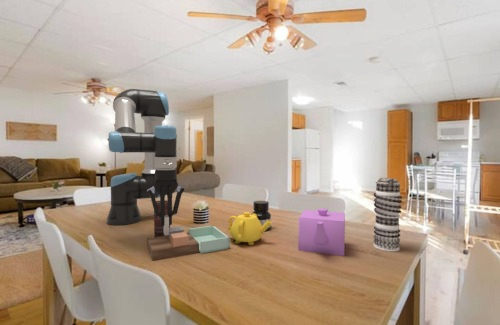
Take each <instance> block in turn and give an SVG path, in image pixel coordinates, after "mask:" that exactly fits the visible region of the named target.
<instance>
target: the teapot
mask: <svg viewBox="0 0 500 325" xmlns="http://www.w3.org/2000/svg"><path fill="white" fill-rule="evenodd" d="M252 213H253V212H252ZM252 213H251V212H249V211H244V212H243V214H239V215H237V216H236V215H232V216H230V217H229V218H228V225H229V226H228V227H227V230H226V231H228V233H229V234H230V236H231V238H232V239H233V240H235V241H234V244H241V243H247V244H248V245H249V246H254V245H255V244H254V243H255V242H256V241H260V238H262V236H263V235H264V233H265V231H267V230H266V229H267V228H268V227H269V226H270V225H271V226H272V224H273V222H272V220H271V221H270V220H267V221H266V223H265V224H264V225H263V226H262V225H261V223H260V221H259V220H258V218H257V214H254V213H253V214H252ZM251 214H252V215H251ZM232 219H234V220H233V222H232Z"/></svg>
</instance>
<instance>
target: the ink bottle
mask: <svg viewBox="0 0 500 325" xmlns="http://www.w3.org/2000/svg"><path fill="white" fill-rule="evenodd" d="M269 204H270V202H269V201H266V200H254V201H253V212H252V213H250V215H252V214H253V213H254V214H257V218H258V220H259V221H260V223H261V225H262V226H263V225H264V224H265V223H266V221H267V220H270V221H271V222H272V214H271V213H270V212H269V210H270V209H269V207H270V206H269ZM271 226H272V224H271V225H270V226H269V227H268V228H267V229H266V230H265V231H269V230H271V228H272V227H271Z"/></svg>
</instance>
